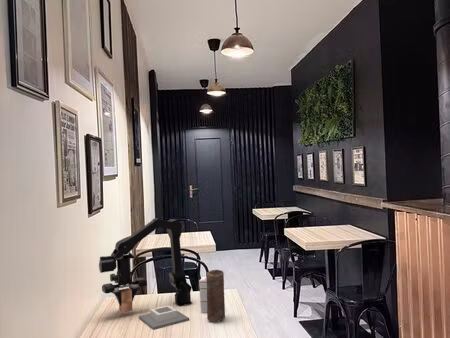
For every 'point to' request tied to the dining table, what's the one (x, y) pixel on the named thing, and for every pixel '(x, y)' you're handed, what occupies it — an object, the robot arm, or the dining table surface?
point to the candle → (215, 295)
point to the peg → (126, 300)
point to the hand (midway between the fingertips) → (125, 304)
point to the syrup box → (203, 294)
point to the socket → (163, 317)
